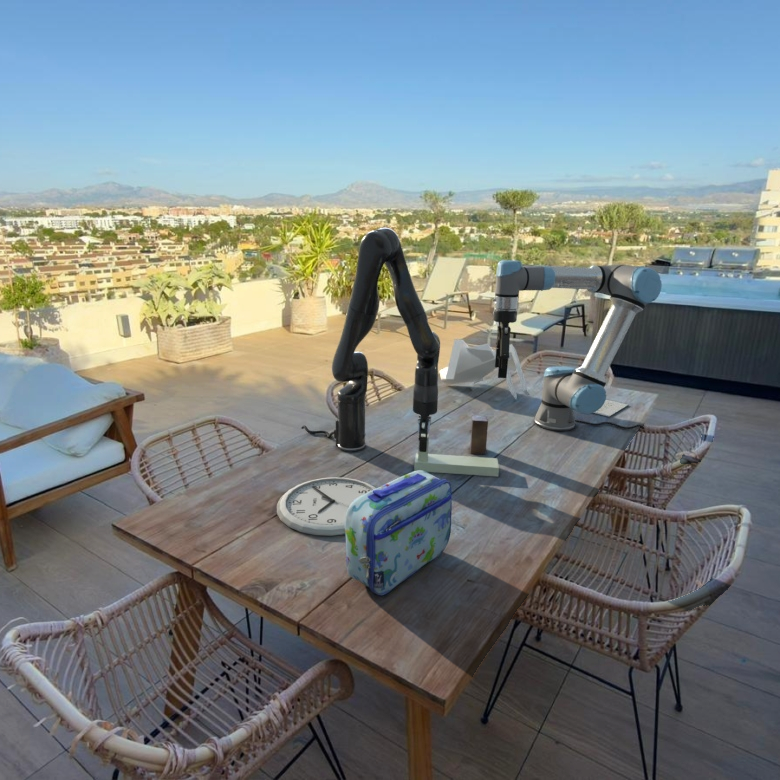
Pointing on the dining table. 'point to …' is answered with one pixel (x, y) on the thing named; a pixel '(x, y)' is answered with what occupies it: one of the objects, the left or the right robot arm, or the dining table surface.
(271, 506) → the dining table surface
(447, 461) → the pale green l-shaped block
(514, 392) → the white plastic object
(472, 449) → the walnut block
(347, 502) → the wall clock
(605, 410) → the invitation card
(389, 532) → the lunch box
